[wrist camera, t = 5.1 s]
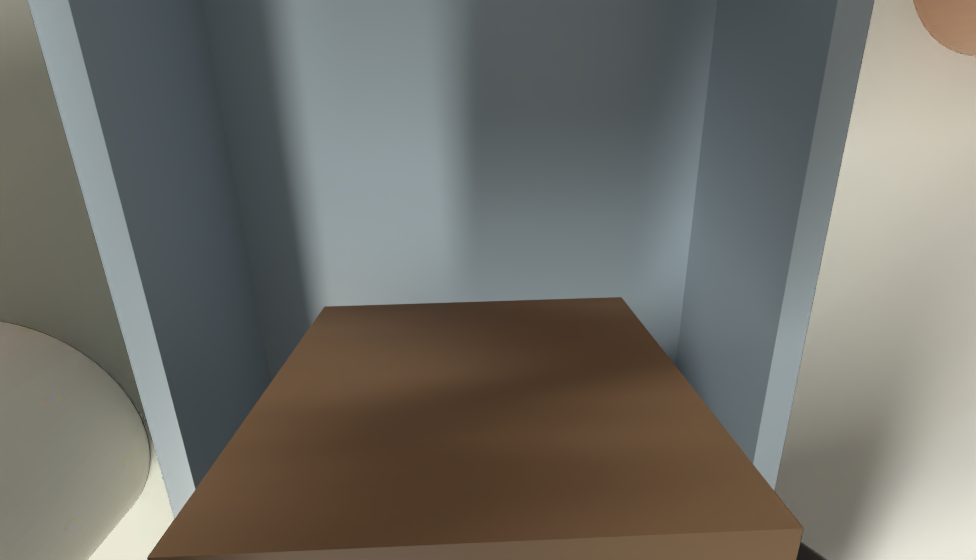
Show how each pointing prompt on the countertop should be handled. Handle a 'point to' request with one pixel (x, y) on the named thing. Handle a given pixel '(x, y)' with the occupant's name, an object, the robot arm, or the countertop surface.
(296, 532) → the cube
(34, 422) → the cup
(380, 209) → the box
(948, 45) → the cylinder
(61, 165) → the countertop surface
